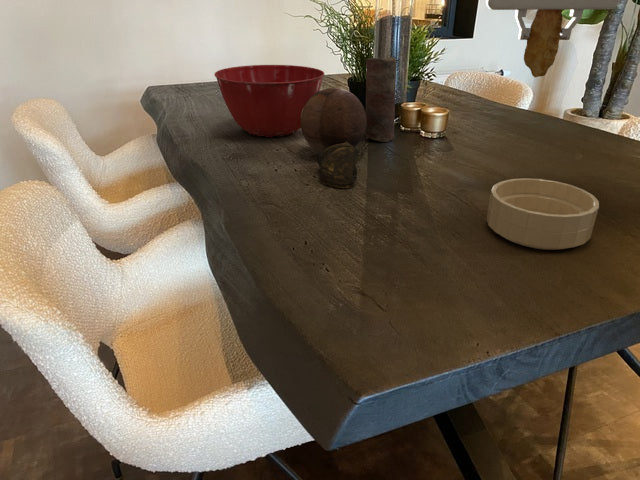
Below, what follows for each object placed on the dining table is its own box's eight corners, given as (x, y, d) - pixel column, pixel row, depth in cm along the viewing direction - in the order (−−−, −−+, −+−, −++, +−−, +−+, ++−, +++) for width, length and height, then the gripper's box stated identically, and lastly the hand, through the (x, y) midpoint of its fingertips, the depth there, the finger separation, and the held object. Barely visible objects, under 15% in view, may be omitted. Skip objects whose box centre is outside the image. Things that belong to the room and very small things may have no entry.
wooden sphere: (374, 149, 118) (377, 85, 111) (348, 168, 106) (350, 97, 99) (320, 141, 124) (319, 80, 117) (289, 158, 112) (286, 91, 105)
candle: (359, 140, 124) (362, 57, 115) (369, 133, 130) (372, 54, 121) (388, 144, 121) (393, 59, 112) (397, 137, 127) (402, 55, 118)
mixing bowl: (332, 119, 144) (332, 64, 136) (314, 148, 119) (313, 82, 112) (240, 116, 148) (235, 62, 141) (204, 143, 123) (196, 79, 116)
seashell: (366, 187, 95) (358, 153, 91) (321, 197, 96) (312, 164, 93) (361, 159, 109) (354, 129, 106) (322, 167, 110) (314, 138, 107)
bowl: (572, 213, 84) (581, 180, 82) (603, 256, 71) (614, 219, 68) (480, 208, 87) (485, 176, 84) (493, 249, 73) (500, 213, 70)
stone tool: (522, 78, 85) (539, -20, 78) (519, 76, 87) (536, -20, 80) (553, 78, 84) (573, -21, 77) (550, 76, 86) (569, -21, 79)
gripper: (495, -56, 75) (482, 41, 81) (639, -60, 72) (614, 41, 78) (489, -53, 80) (477, 37, 87) (623, -56, 77) (600, 38, 84)
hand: (543, 39), depth 82 cm, fingers closed on stone tool, 5 cm apart
